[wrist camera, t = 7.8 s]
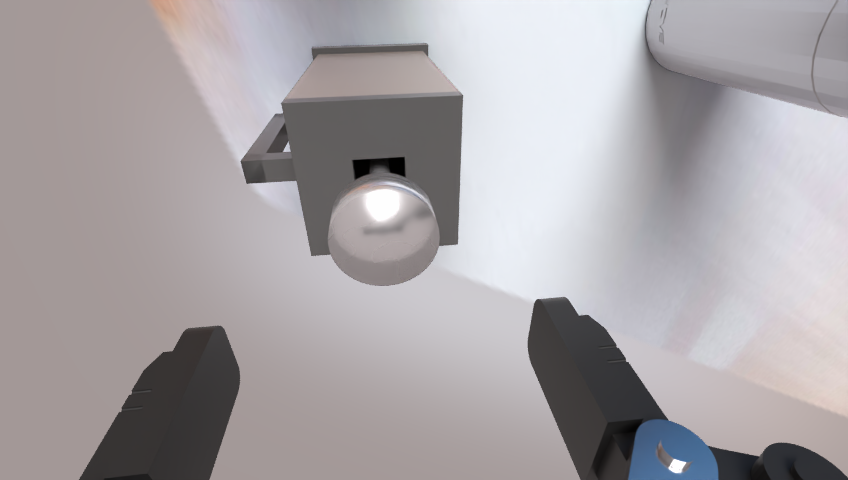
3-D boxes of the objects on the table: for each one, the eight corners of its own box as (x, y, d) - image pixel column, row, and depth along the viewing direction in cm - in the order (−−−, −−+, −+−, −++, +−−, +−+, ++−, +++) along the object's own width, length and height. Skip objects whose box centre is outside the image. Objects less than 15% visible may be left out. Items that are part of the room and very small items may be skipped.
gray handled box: (426, 43, 30) (472, 85, 17) (427, 150, 35) (464, 250, 22) (276, 47, 29) (202, 96, 16) (297, 157, 34) (252, 267, 21)
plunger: (416, 69, 28) (470, 157, 13) (418, 153, 31) (463, 298, 16) (327, 72, 27) (282, 168, 13) (338, 157, 30) (313, 312, 16)
